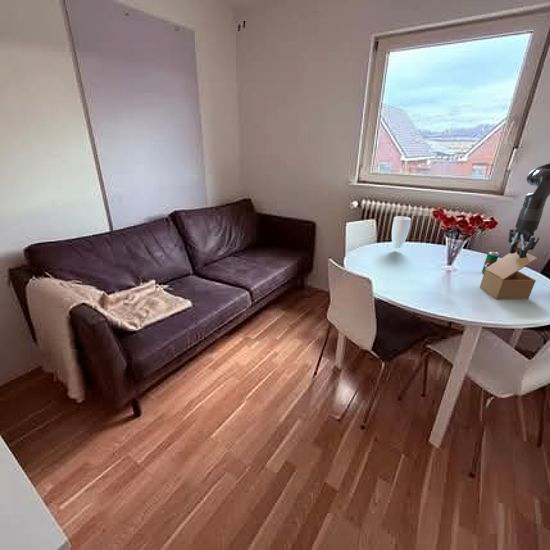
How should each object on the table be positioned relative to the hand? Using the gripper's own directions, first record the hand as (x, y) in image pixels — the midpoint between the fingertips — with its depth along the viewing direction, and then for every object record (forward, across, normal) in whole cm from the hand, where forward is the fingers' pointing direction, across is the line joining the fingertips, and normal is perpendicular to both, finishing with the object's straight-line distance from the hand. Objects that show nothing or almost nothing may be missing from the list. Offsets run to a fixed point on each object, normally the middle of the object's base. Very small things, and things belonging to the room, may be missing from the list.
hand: (516, 255), depth 138 cm
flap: (+4, 0, +2) cm, 5 cm away
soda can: (+19, +23, -7) cm, 31 cm away
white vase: (+18, +57, +29) cm, 67 cm away
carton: (+19, 0, +1) cm, 19 cm away
